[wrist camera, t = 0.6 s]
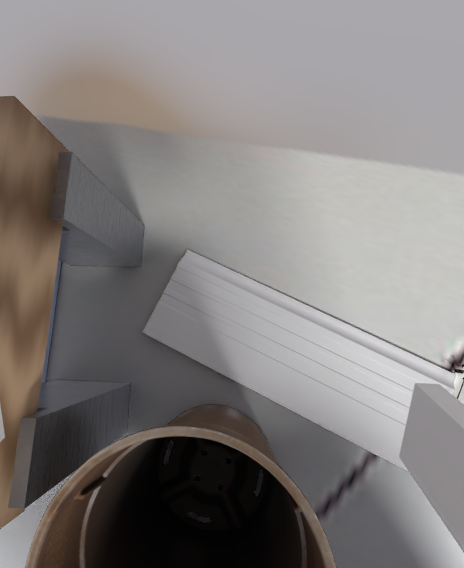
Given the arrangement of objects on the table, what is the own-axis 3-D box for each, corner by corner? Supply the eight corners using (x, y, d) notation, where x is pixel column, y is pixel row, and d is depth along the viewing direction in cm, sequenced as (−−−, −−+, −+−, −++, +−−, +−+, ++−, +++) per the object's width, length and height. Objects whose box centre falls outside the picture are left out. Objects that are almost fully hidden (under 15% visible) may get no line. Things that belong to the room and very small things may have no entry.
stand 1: (140, 266, 35) (63, 218, 21) (70, 265, 36) (-51, 217, 21) (144, 225, 36) (72, 152, 22) (76, 225, 36) (-38, 153, 22)
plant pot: (302, 394, 31) (353, 452, 15) (289, 570, 29) (333, 859, 13) (151, 373, 33) (57, 407, 17) (125, 539, 30) (-17, 764, 14)
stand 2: (126, 432, 32) (23, 508, 18) (50, 427, 32) (-109, 498, 18) (130, 382, 33) (36, 418, 18) (56, 379, 33) (-91, 411, 19)
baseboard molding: (194, 241, 36) (147, 332, 34) (189, 232, 33) (137, 332, 31) (455, 361, 31) (413, 472, 30) (476, 363, 28) (430, 486, 27)
